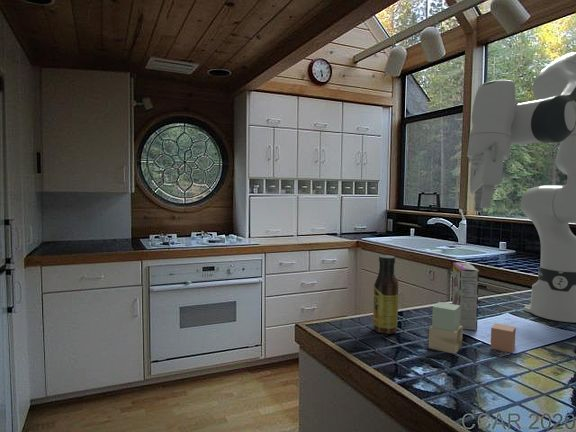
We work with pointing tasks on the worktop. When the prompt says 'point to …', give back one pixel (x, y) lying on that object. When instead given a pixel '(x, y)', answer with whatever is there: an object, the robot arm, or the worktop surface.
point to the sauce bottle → (386, 297)
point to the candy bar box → (466, 293)
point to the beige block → (445, 339)
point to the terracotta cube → (503, 337)
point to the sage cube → (446, 316)
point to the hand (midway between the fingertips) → (481, 210)
